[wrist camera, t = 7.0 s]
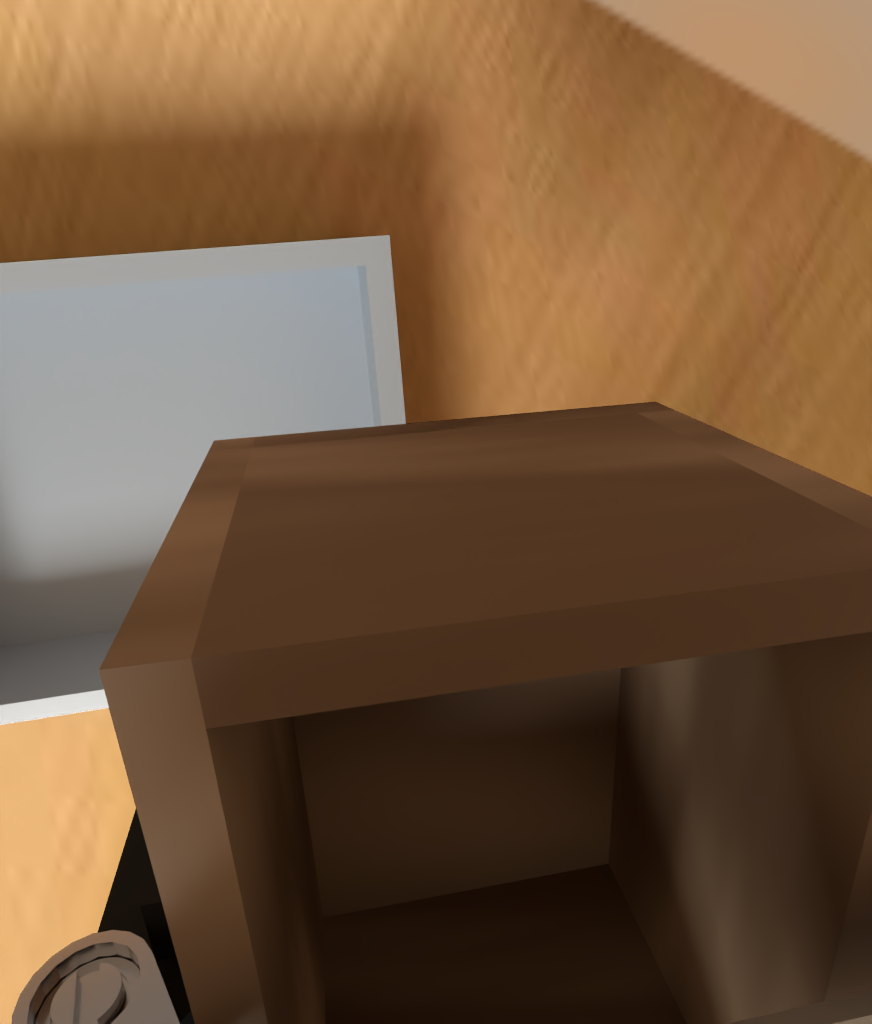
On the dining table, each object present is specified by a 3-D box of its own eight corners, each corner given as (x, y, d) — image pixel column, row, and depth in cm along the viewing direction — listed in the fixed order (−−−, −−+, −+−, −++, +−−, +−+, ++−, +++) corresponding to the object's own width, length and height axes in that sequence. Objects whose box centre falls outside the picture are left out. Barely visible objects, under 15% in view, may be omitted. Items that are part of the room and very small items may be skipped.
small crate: (622, 856, 15) (808, 1217, 9) (296, 917, 14) (287, 1363, 8) (655, 401, 11) (997, 552, 6) (214, 440, 10) (98, 670, 5)
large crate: (408, 596, 31) (426, 657, 26) (-21, 658, 28) (-85, 738, 24) (374, 237, 25) (389, 234, 20) (-165, 276, 23) (-286, 283, 18)
